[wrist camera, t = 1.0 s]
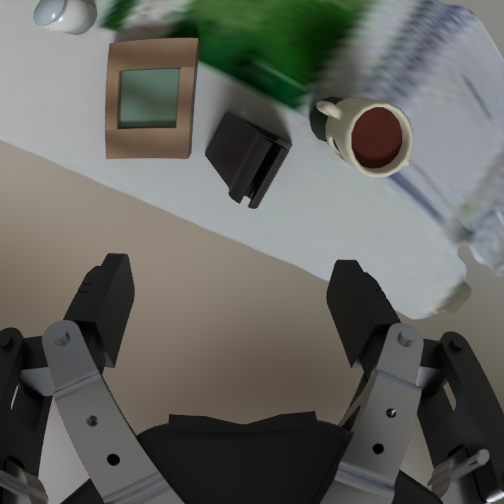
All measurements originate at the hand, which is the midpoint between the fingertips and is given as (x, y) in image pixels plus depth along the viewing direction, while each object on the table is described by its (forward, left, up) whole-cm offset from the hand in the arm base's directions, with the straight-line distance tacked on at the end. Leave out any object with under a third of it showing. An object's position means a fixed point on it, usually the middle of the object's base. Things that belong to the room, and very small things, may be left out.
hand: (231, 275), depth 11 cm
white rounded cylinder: (-17, -20, -27) cm, 38 cm away
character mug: (-4, +13, -27) cm, 30 cm away
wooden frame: (-5, -9, -27) cm, 29 cm away
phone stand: (+1, +3, -27) cm, 27 cm away
